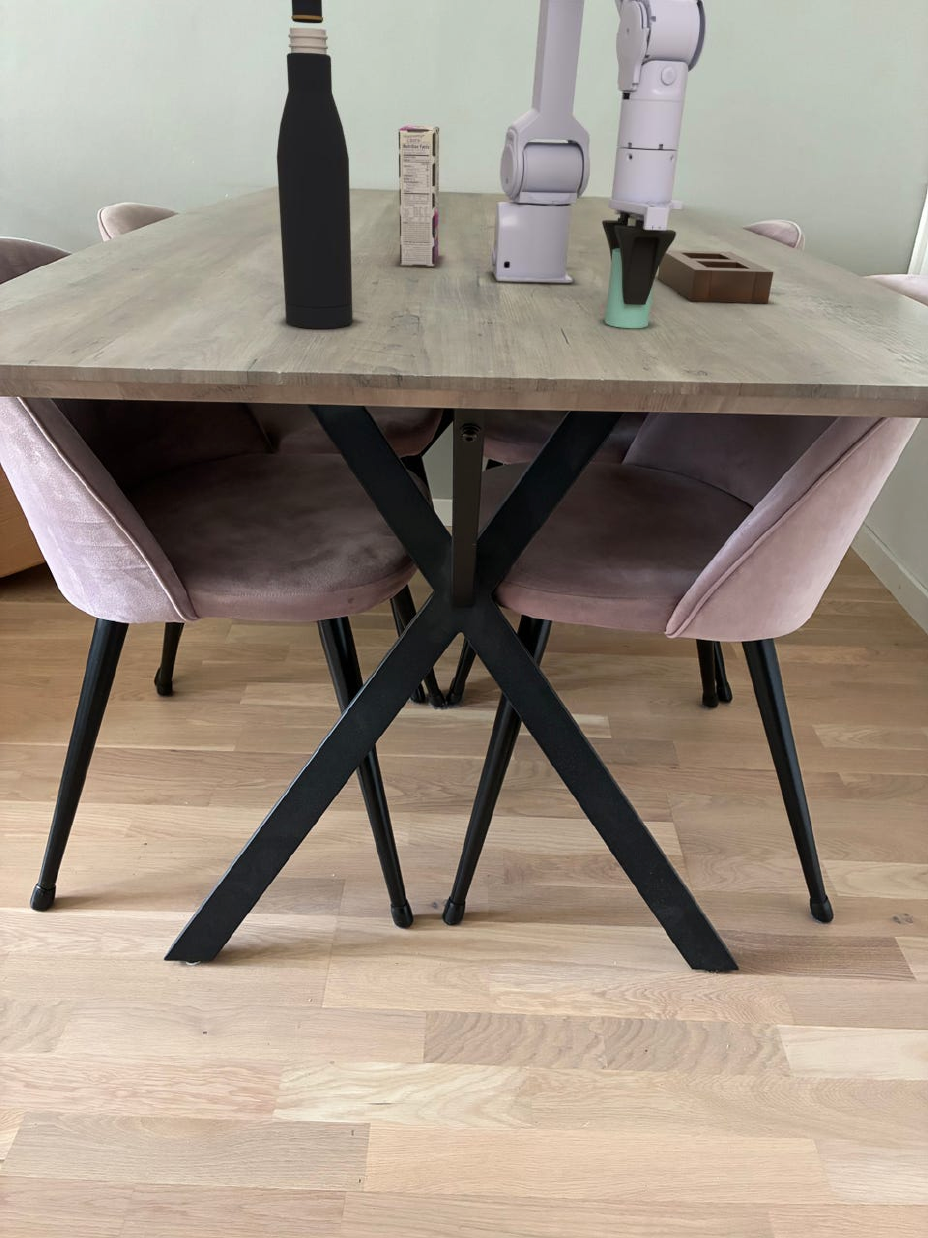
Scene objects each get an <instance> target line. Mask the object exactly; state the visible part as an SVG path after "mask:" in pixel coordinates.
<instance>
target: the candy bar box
mask: <svg viewBox="0 0 928 1238" xmlns="http://www.w3.org/2000/svg"><path fill="white" fill-rule="evenodd" d="M398 183H399V185H398V188H399V189H398V190H399V191H398V193H399V265H400V266H402V267H408V268H409V267H410V268H435V266H436V263H437V259H438V257H439V205H440V204H439V200H440V198H439V197H440V195H439V194H440V193H439V192H440V191H439V190H440V126H432V125H405V126H403V127H401V128H399V129H398Z"/></svg>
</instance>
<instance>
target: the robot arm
mask: <svg viewBox="0 0 928 1238" xmlns="http://www.w3.org/2000/svg"><path fill="white" fill-rule="evenodd" d="M614 4H615V7H616V10H617V12H618V17H619V23H618V30H617V32H616V38H615V39H616V40H615V50H616V58H617V59H616V60H617V63H618V71H617V72H618V73H617V83H616V84H617V89H618V91H620V92H621V102H620V112H619V120H618V122H619V123H618V132H617V141H616V151H615V160H614V169H613V170H614V171H613V181H612V187H611V188H612V189H611V197H610V198H608V208H609V209H612V210H614V214H615V215H619V217H618V218H617V220H615V219H605V220H601V222H602V223H601V225H602V227H603V230H604V234H605V236H606V240H607V244H608V248H609V256H610V262H611V261H612V251H613V249H617V248H620V253H621V261H622V293H623V301H624V304H632V305H645V304H646V302H647V299H648V297H649V294H650V291H651V288H652V285H653V286H654V284H653V282H655V279H656V276H657V273H658V271H659V265H660V263H661V261H662V259H663V257H664V255H665V253H666V251H667V250H669V248H670V246H671V245H672V244H673V242H674V241H675V239H676V236H677V231H675V230H674V229H667V228H668V222H669V215H670V213H671V212H672V211H675V210H676V211H677V210H679V211H680V210H683V207H684V201H682V200H677V199H676V200H673V199H672V196H673V192H674V191H673V189H674V183H675V175H676V167H677V160H678V151H679V150H678V149H679V146H680V138H681V132H682V131H681V129H682V122H683V116H684V115H683V114H684V107H685V100H686V93H687V84H688V78H689V77H688V76H689V72H691V71H692V70H693V69H694V68H695V67H696V66H697V64H698V63H699V60H700V58H701V56H702V53H703V50H704V46H705V42H706V38H707V29H708V16H707V11H706V6H705V2H704V0H614ZM584 7H585V0H540V1H539V11H538V13H539V14H538V24H537V37H536V49H535V60H534V71H533V85H532V97H531V107H530V108H529V109H528V111H527V112H525V113H524V114H522V115H521V116H520V117H518V119H516V120H514V122H512V123H511V124H510V125H509V126H508V127H507V129H506V130H507V131H506V132H505V139H504V147H503V149H502V153H501V157H500V166H499V167H500V168H499V179H500V185H501V189H502V191H503V192H504V194H505V195H506V197H507V198H508V200H509V201H499V202H496V206H495V213H494V214H495V215H494V228H493V229H494V231H493V232H494V233H493V250H492V251H491V266H492V268H491V272H492V274H493V275H494V278H495V280H496V281H497V282H517V283H520V282H521V283H553V284H572V283H573V282H574V281H573V278H572V277H571V276H570V274H569V273H567V266H568V265H567V263H568V252H569V240H570V227H571V218H572V217H571V215H572V206H573V205H577V202H578V199H580V198H581V196H582V195H583V194H584V193H585V191H586V189H587V187H588V185H589V180H590V175H591V161H590V160H591V159H590V133H589V131H588V130H587V128H585V126H584V125H583V124H582V123H581V122H580V121H579V120H578V119H577V117H576V116H574V114H573V112H574V105H575V95H576V94H575V93H576V84H577V76H578V67H579V65H578V64H579V55H580V48H581V47H580V46H581V38H582V37H581V36H582V35H581V34H582V26H583V17H584V9H585V8H584ZM535 140H554V141H555V140H556V141H557V140H558V141H557V142H556V141H555V142H553V141H535ZM559 141H566V142H559ZM630 217H634V218H636V219H638V220H636V224H635V226H628V218H630Z"/></svg>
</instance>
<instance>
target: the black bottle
mask: <svg viewBox="0 0 928 1238" xmlns="http://www.w3.org/2000/svg"><path fill="white" fill-rule="evenodd" d="M291 20H292V22H293V23H300V24H322V23H323V21H324V17H323V2H322V0H291ZM287 37H288V38H289V40H290V42H289V44H288V47H289V48H290V52H289V53H287V54H286V71H287V96H286V99H285V102H284V107H283V111H282V114H281V115H282V116H281V120H280V124H279V131H278V138H277V147H276V166H277V184H278V185H277V186H278V187H277V188H278V201H279V203H278V205H279V223H280V239H281V240H280V241H281V257H282V258H281V259H282V273H283V292H284V309H285V320H286V323H287V324H288V325H290V326H292V327H296V328H301V329H302V328H303V329H312V330H313V329H315V330H329V329H330V330H331V329H340V328H344V327H347V326H350V325H351V324H352V323H353V281H352V280H353V279H352V278H353V277H352V242H351V241H352V240H351V239H352V238H351V237H352V235H351V199H350V198H351V195H350V192H351V191H350V158H349V153H348V145H347V140H346V135H345V131H344V125H343V122H342V119H341V116H340V113H339V110H338V107H337V103H336V101H335V98H334V94H333V83H332V82H333V81H332V79H333V78H332V77H333V76H332V57H331V55H329V54H327V50H328V49H329V45H327V40H328V39H329V37H328V36H327V30H326V29H322V28H314V27H313V28H312V27H289V33H288V36H287Z"/></svg>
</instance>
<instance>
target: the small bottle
mask: <svg viewBox="0 0 928 1238" xmlns="http://www.w3.org/2000/svg"><path fill="white" fill-rule="evenodd" d="M636 220H638V219H636V218H634V217H630V218H628V226H635V224H636ZM610 262H611V263H610V270H609V280H608V291H607V299H606V308H605V318H604V323H605V324H606V325H608V326H611V327H615V328H621V329H642V328H647V327H649V322H650V314H651V308H652V307H651V305H652V298H653V292H654V291H653V290H654V284H655V283H654V282H655V281H654V282H653V285H652V288H651V291H650V294H649V297H648V299H647V302H646V304H645V305H632V304H624V301H623V293H622V261H621V253H620V248H617V249H613V251H612V261H611V260H610Z"/></svg>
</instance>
